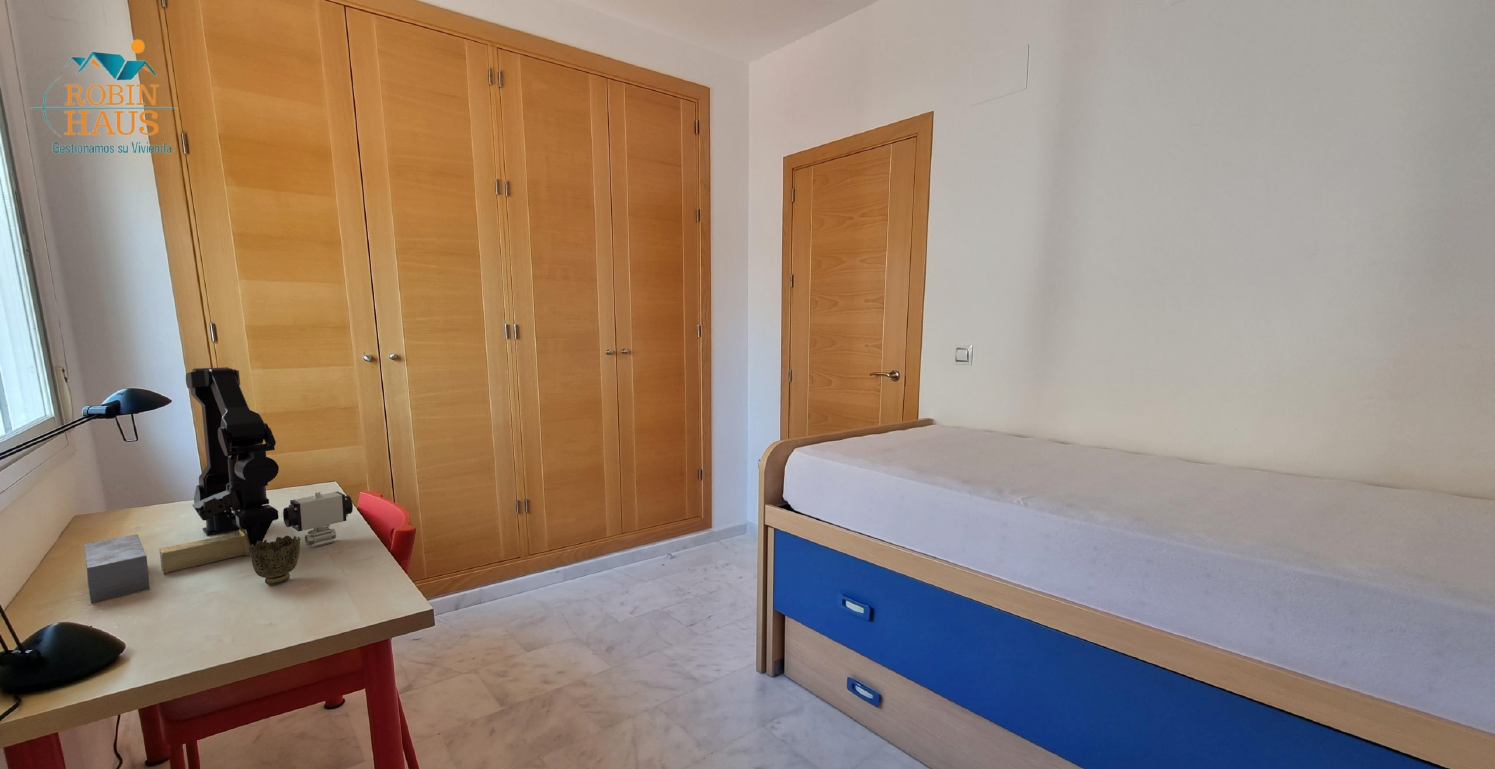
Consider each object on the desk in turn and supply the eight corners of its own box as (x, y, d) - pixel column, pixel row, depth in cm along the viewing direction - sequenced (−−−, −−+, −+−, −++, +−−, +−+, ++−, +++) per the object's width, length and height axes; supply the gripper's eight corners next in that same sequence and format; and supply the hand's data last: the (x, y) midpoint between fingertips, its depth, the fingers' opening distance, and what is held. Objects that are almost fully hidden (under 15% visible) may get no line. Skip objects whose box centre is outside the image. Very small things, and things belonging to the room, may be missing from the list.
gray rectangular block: (140, 564, 112) (137, 534, 111) (149, 589, 101) (146, 555, 100) (87, 576, 106) (83, 544, 106) (90, 603, 95) (87, 568, 95)
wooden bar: (258, 546, 121) (257, 525, 121) (264, 551, 118) (262, 530, 118) (160, 568, 110) (158, 545, 109) (163, 574, 107) (161, 551, 106)
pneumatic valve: (355, 538, 126) (352, 488, 125) (291, 554, 117) (287, 500, 116) (346, 533, 130) (343, 484, 129) (284, 548, 120) (280, 496, 119)
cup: (300, 570, 109) (298, 532, 108) (305, 582, 104) (302, 542, 103) (250, 582, 104) (247, 541, 103) (252, 595, 99) (249, 552, 98)
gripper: (188, 477, 117) (193, 548, 118) (202, 493, 105) (208, 570, 107) (256, 468, 126) (261, 533, 127) (276, 481, 114) (281, 553, 115)
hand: (252, 547), depth 119 cm, fingers closed on wooden bar, 5 cm apart
